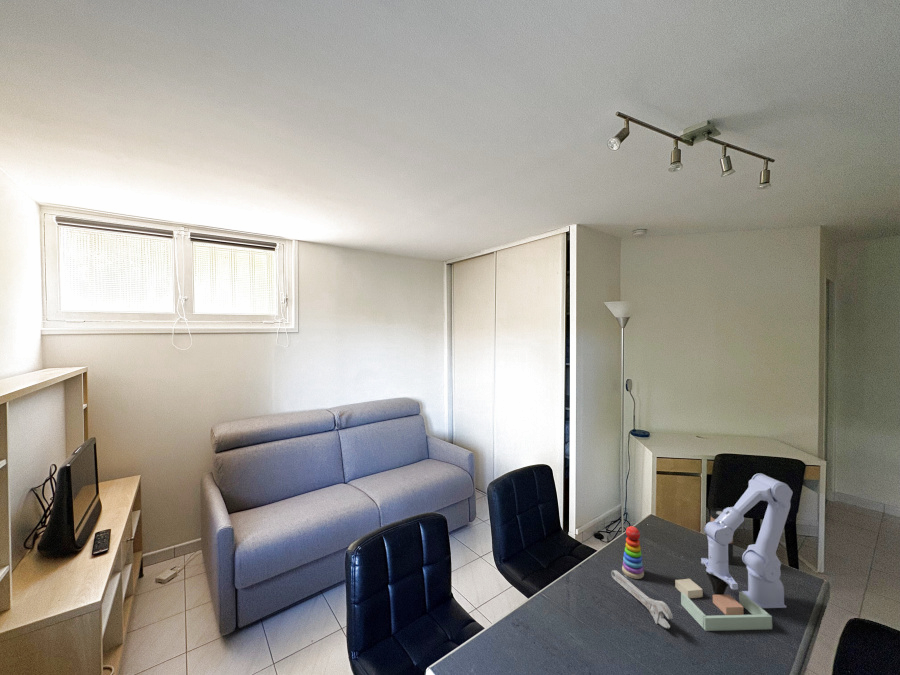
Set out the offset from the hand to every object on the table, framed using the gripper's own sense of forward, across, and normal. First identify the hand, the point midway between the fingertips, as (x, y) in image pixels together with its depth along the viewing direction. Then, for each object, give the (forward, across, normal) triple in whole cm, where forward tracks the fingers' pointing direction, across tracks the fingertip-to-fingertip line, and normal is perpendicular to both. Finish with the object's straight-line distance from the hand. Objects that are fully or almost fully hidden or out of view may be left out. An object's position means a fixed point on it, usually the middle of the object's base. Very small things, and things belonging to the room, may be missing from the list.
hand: (718, 595), depth 127 cm
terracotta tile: (+2, +4, 0) cm, 4 cm away
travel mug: (+2, -23, +20) cm, 31 cm away
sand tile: (+2, -4, -8) cm, 9 cm away
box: (+1, +7, -4) cm, 8 cm away
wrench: (+2, +1, -30) cm, 30 cm away
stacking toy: (+2, -15, -23) cm, 28 cm away
